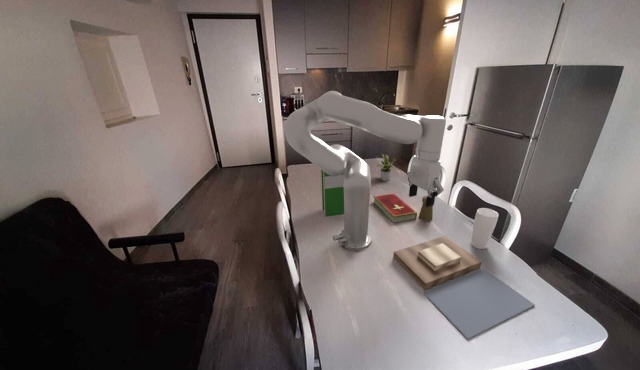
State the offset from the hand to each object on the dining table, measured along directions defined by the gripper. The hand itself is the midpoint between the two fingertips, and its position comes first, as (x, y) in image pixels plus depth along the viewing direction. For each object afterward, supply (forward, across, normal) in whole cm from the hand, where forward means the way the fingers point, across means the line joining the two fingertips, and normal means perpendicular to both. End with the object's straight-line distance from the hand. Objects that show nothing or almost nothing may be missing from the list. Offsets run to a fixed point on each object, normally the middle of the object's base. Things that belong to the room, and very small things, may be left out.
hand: (420, 200), depth 89 cm
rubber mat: (+20, +28, 0) cm, 34 cm away
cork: (+20, -14, +18) cm, 31 cm away
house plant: (+20, -61, +28) cm, 70 cm away
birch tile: (+17, +12, 0) cm, 21 cm away
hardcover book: (+21, -26, +9) cm, 34 cm away
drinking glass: (+20, +10, +22) cm, 32 cm away
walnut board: (+20, +11, 0) cm, 23 cm away
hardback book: (+20, -36, -14) cm, 44 cm away
